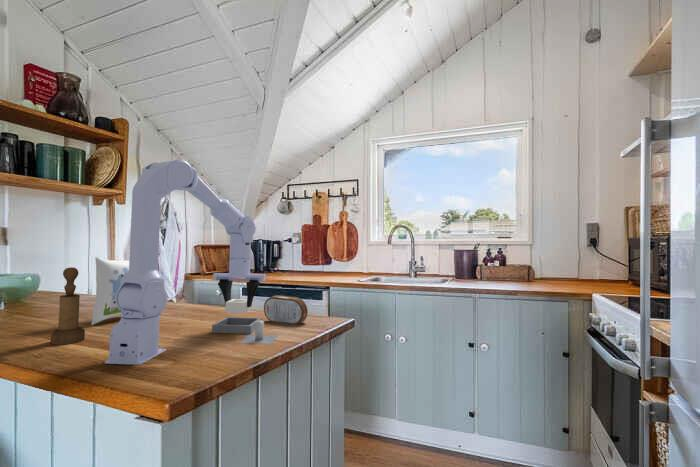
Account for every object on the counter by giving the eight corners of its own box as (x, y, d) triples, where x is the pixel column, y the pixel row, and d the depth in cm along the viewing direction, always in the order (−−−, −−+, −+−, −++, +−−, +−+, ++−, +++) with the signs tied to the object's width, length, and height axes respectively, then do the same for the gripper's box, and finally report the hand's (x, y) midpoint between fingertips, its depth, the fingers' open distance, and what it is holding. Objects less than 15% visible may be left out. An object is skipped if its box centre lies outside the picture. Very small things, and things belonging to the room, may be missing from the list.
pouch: (81, 324, 107) (84, 256, 107) (141, 313, 125) (143, 254, 125) (99, 327, 104) (102, 257, 104) (158, 315, 121) (160, 255, 122)
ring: (251, 309, 106) (251, 299, 106) (245, 313, 101) (245, 302, 101) (232, 309, 106) (232, 299, 106) (225, 313, 101) (225, 302, 101)
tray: (250, 335, 98) (251, 326, 98) (211, 334, 98) (212, 324, 98) (261, 326, 108) (261, 317, 108) (226, 325, 109) (226, 317, 109)
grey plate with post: (271, 346, 88) (271, 325, 88) (238, 345, 88) (238, 324, 89) (278, 337, 96) (278, 318, 96) (248, 336, 96) (248, 317, 97)
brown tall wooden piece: (65, 345, 85) (68, 268, 86) (43, 343, 87) (46, 267, 87) (91, 338, 92) (93, 267, 92) (69, 336, 93) (72, 266, 93)
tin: (307, 325, 112) (308, 297, 112) (302, 327, 109) (303, 299, 109) (267, 319, 118) (268, 293, 119) (261, 321, 115) (262, 295, 116)
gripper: (268, 258, 107) (267, 304, 107) (220, 257, 108) (218, 303, 108) (262, 259, 100) (261, 309, 100) (210, 258, 101) (209, 307, 100)
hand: (238, 306), depth 103 cm, fingers closed on ring, 5 cm apart
